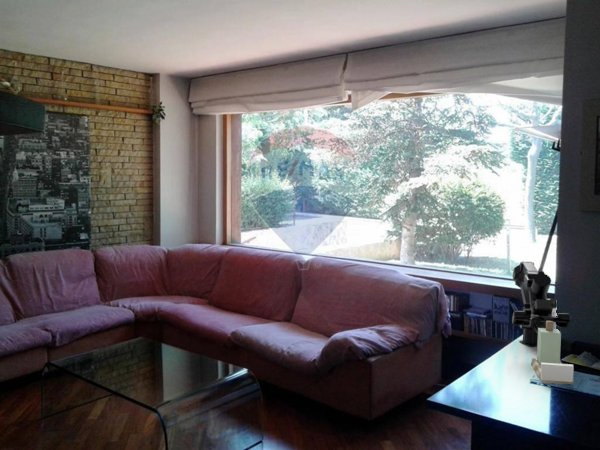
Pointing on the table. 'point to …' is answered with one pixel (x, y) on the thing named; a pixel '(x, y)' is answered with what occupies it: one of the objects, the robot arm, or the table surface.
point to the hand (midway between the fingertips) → (543, 340)
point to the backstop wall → (557, 372)
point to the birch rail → (538, 372)
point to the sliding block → (548, 344)
